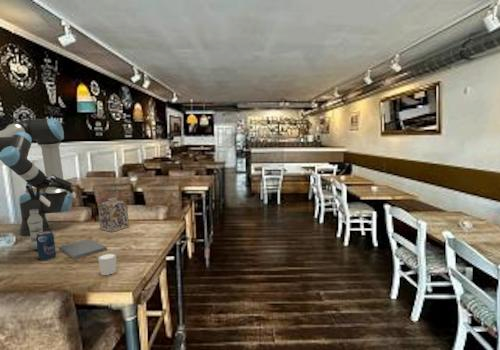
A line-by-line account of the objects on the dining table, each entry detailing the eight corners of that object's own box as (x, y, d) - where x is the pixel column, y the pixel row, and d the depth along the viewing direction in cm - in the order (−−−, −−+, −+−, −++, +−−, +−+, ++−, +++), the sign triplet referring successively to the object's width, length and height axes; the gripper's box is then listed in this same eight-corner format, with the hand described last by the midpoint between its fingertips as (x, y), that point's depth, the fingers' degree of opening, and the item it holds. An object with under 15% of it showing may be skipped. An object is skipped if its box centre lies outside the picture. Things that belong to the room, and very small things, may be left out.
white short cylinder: (102, 269, 145) (101, 253, 144) (119, 268, 146) (118, 252, 145) (97, 277, 138) (95, 260, 137) (114, 275, 139) (113, 259, 138)
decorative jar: (129, 227, 207) (127, 197, 204) (112, 232, 197) (109, 201, 195) (116, 224, 213) (114, 195, 211) (99, 229, 204) (96, 199, 201)
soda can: (48, 261, 157) (45, 235, 155) (35, 260, 158) (32, 234, 157) (59, 255, 164) (56, 230, 162) (46, 254, 165) (43, 230, 163)
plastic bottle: (49, 247, 175) (44, 208, 173) (37, 252, 169) (32, 211, 166) (39, 246, 178) (35, 207, 175) (27, 250, 171) (22, 211, 168)
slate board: (59, 249, 172) (58, 246, 172) (90, 241, 183) (89, 238, 182) (74, 259, 158) (74, 256, 158) (107, 250, 169) (106, 247, 169)
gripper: (4, 189, 156) (37, 214, 172) (55, 171, 154) (84, 198, 170) (8, 176, 160) (40, 202, 176) (58, 159, 159) (86, 186, 175)
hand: (62, 200), depth 173 cm, fingers open, 13 cm apart
